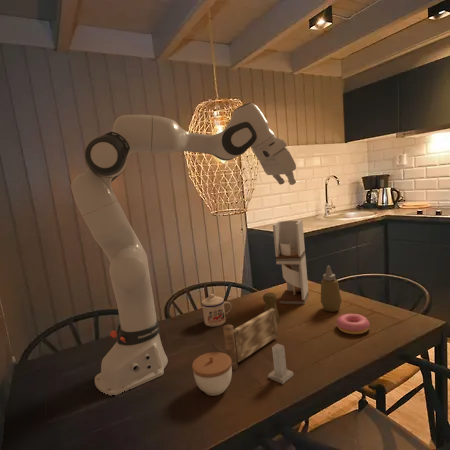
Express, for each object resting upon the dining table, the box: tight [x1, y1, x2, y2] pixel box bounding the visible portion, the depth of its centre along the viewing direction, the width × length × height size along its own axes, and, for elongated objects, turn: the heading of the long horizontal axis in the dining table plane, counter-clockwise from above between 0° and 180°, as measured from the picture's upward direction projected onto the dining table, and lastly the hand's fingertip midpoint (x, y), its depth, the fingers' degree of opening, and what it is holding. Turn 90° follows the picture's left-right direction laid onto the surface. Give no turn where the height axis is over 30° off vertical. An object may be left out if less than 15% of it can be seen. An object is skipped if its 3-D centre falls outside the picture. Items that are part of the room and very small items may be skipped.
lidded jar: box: [191, 351, 233, 397], centre depth 88 cm, size 11×11×9 cm
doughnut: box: [335, 313, 371, 335], centre depth 113 cm, size 11×11×4 cm
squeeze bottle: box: [320, 265, 342, 313], centre depth 129 cm, size 8×8×18 cm
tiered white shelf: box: [272, 219, 309, 305], centre depth 143 cm, size 11×11×35 cm
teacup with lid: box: [201, 293, 232, 327], centre depth 131 cm, size 12×9×12 cm
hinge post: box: [222, 324, 239, 371], centre depth 97 cm, size 3×3×13 cm
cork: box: [262, 292, 281, 324], centre depth 126 cm, size 6×6×11 cm
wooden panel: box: [233, 308, 279, 363], centre depth 105 cm, size 20×2×10 cm, turn 134°
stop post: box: [267, 343, 295, 385], centre depth 90 cm, size 5×5×9 cm
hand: (287, 183), depth 111 cm, fingers open, 8 cm apart
